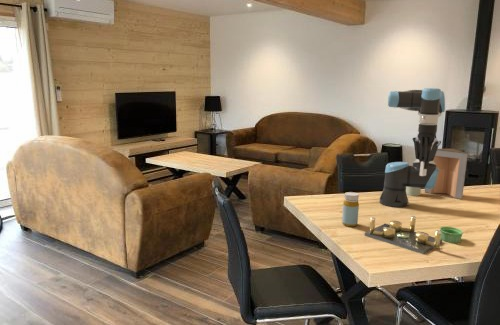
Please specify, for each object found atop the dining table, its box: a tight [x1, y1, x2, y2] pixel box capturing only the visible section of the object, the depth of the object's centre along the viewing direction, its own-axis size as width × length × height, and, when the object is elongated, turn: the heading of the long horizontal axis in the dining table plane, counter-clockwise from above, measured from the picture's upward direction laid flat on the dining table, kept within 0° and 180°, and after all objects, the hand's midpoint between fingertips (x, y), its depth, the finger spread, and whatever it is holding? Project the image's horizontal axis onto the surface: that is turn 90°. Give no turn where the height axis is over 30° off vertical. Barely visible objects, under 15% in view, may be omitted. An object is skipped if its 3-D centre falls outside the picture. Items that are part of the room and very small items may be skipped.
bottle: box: [341, 191, 360, 228], centre depth 184 cm, size 7×7×15 cm
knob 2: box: [389, 215, 417, 232], centre depth 175 cm, size 10×5×7 cm, turn 68°
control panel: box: [364, 223, 443, 255], centre depth 169 cm, size 26×18×2 cm
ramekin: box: [439, 226, 464, 244], centre depth 169 cm, size 9×9×4 cm
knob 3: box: [415, 230, 441, 249], centre depth 160 cm, size 11×5×7 cm, turn 29°
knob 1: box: [368, 217, 395, 238], centre depth 169 cm, size 10×5×7 cm, turn 63°
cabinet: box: [424, 148, 469, 200], centre depth 238 cm, size 21×10×28 cm, turn 47°
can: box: [406, 187, 422, 197], centre depth 240 cm, size 9×9×12 cm
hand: (422, 175), depth 179 cm, fingers closed
